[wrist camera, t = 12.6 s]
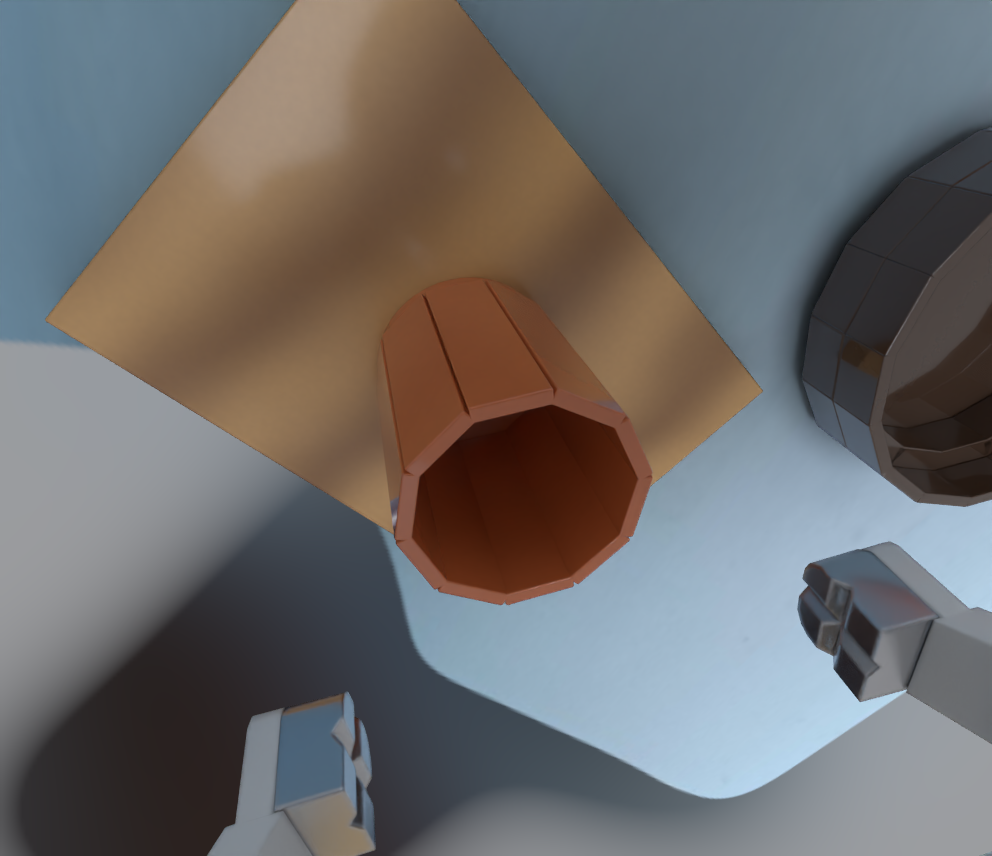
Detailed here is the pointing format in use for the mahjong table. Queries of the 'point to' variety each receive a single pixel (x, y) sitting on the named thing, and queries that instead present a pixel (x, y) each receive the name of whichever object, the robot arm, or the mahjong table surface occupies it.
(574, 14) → the mahjong table surface
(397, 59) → the bamboo board
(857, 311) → the bowl
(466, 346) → the terracotta cup
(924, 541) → the mahjong table surface
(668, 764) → the mahjong table surface
